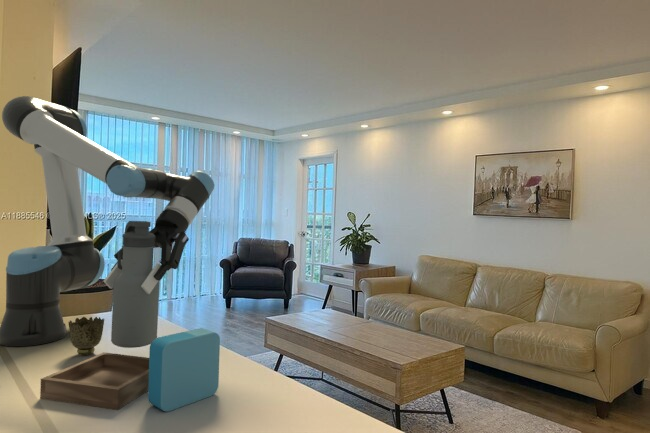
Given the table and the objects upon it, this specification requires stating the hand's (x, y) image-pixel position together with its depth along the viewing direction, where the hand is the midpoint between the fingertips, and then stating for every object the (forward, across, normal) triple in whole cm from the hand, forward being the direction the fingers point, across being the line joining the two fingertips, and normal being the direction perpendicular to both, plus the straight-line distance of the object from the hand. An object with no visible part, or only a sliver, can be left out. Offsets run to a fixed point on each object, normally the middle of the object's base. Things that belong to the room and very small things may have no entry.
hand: (126, 287), depth 101 cm
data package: (+19, -26, -5) cm, 32 cm away
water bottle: (+7, 0, -11) cm, 14 cm away
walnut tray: (+20, -9, -3) cm, 22 cm away
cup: (+12, +12, -12) cm, 21 cm away
